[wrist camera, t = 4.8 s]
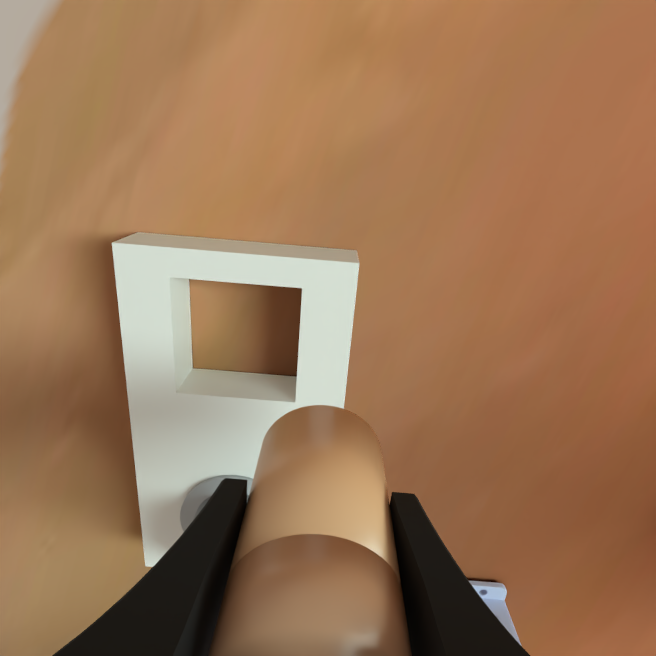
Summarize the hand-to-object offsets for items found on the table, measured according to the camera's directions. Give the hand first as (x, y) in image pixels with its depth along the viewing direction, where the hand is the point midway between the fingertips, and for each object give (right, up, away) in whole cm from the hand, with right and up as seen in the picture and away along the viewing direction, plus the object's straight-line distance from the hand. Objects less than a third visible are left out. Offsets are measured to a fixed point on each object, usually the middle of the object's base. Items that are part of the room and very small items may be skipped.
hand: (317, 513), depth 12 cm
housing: (-4, +1, +11) cm, 12 cm away
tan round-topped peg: (0, +1, +2) cm, 2 cm away
